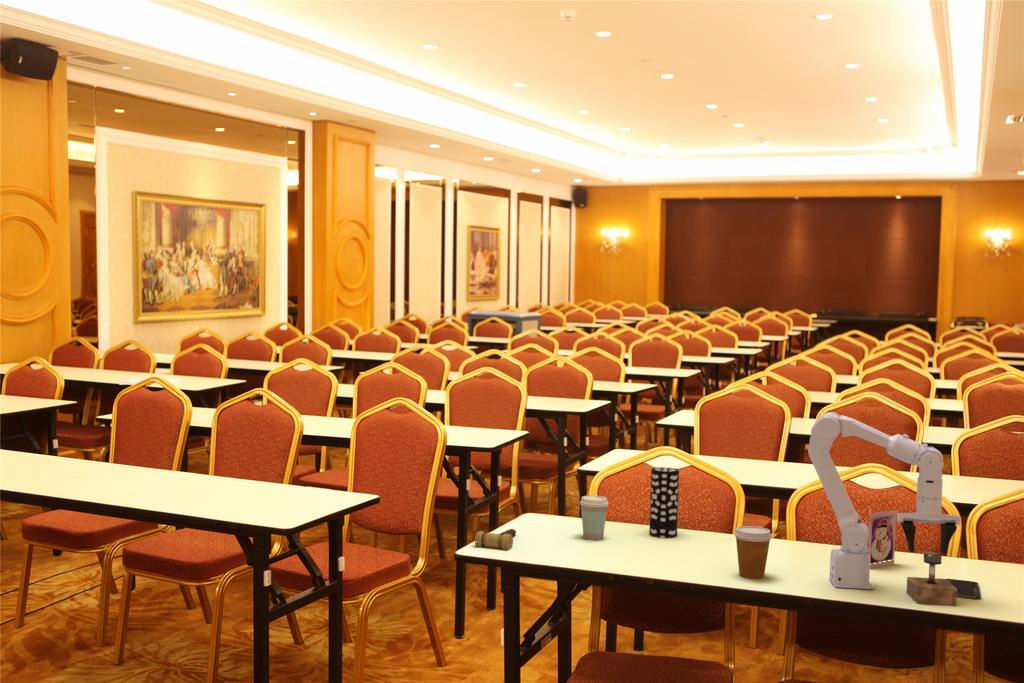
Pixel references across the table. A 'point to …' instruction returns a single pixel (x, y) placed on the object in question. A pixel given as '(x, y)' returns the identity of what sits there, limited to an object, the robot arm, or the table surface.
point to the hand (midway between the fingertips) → (927, 551)
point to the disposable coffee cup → (752, 550)
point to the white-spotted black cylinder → (664, 502)
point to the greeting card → (882, 538)
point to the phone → (966, 589)
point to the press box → (931, 591)
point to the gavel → (495, 539)
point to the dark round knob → (932, 564)
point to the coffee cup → (593, 516)
